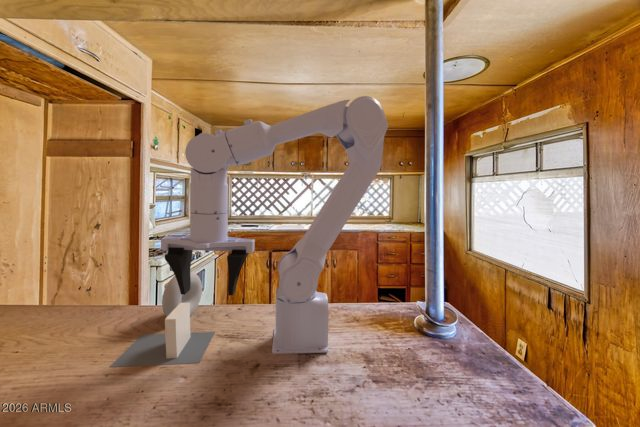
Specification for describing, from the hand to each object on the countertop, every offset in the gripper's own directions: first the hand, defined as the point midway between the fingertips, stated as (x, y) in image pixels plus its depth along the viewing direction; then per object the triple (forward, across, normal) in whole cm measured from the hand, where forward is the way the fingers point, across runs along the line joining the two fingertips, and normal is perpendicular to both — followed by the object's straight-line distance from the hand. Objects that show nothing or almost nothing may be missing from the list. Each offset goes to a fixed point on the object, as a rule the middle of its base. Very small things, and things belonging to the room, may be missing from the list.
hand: (208, 292), depth 46 cm
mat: (+10, -7, 0) cm, 12 cm away
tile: (+10, -5, 0) cm, 11 cm away
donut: (+10, -9, +11) cm, 17 cm away
